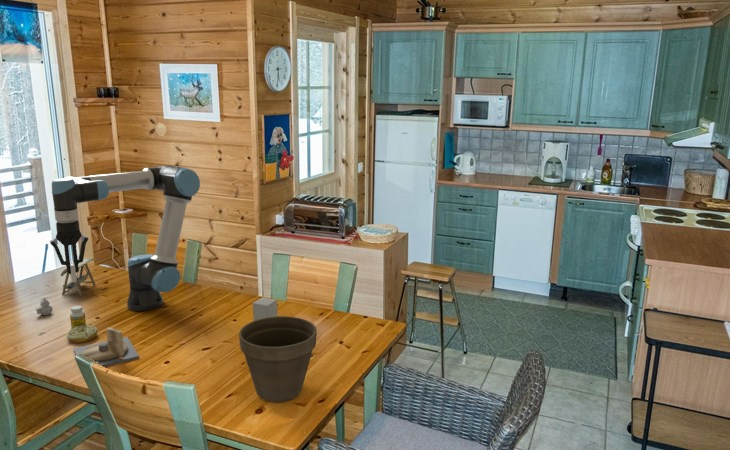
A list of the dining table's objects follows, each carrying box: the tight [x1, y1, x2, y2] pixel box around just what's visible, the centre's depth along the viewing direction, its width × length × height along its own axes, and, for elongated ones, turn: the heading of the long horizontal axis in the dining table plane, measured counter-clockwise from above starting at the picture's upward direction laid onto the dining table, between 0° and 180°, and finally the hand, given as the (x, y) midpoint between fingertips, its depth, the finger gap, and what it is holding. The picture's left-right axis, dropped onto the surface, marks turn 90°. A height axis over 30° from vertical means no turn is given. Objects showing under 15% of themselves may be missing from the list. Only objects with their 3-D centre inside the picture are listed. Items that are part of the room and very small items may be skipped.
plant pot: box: [238, 315, 318, 403], centre depth 184 cm, size 25×25×22 cm
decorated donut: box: [66, 324, 98, 344], centre depth 222 cm, size 10×11×4 cm
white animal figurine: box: [35, 297, 53, 316], centre depth 242 cm, size 5×7×8 cm
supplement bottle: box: [69, 305, 87, 329], centre depth 228 cm, size 5×5×10 cm
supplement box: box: [252, 297, 278, 321], centre depth 231 cm, size 7×7×13 cm
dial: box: [83, 327, 128, 361], centre depth 207 cm, size 17×15×10 cm
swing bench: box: [60, 257, 97, 297], centre depth 270 cm, size 15×10×15 cm, turn 178°
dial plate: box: [73, 336, 140, 368], centre depth 209 cm, size 19×19×1 cm
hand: (73, 280), depth 214 cm, fingers closed
